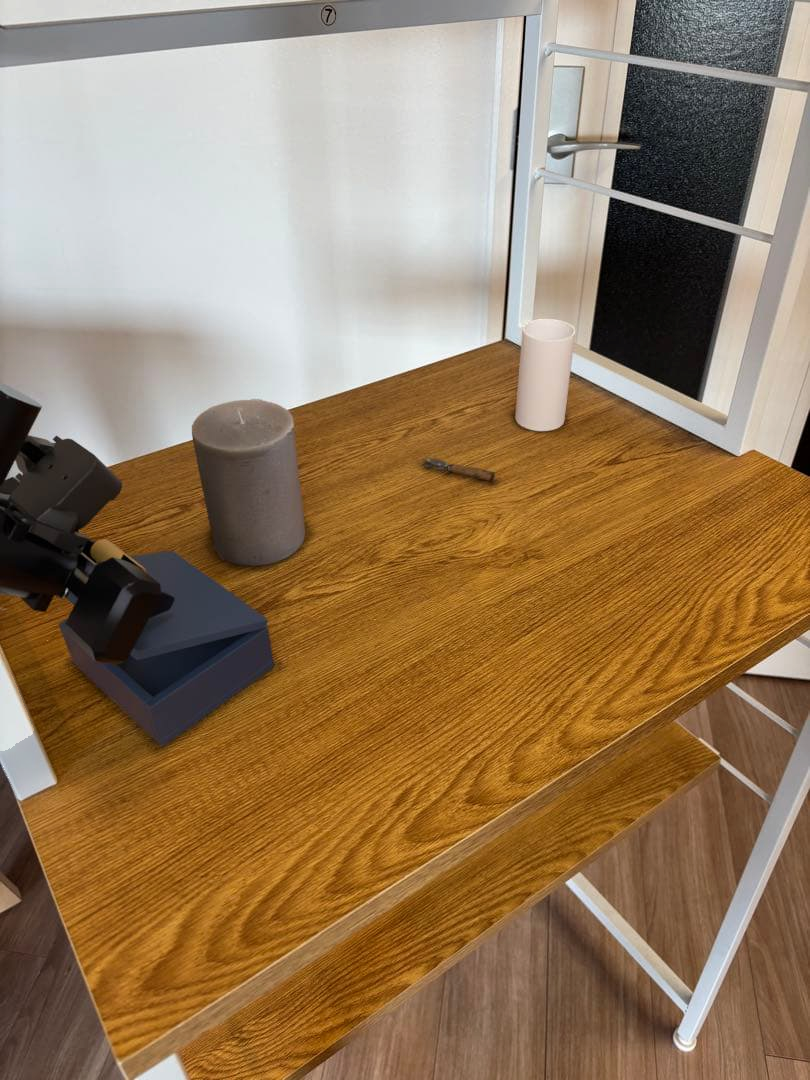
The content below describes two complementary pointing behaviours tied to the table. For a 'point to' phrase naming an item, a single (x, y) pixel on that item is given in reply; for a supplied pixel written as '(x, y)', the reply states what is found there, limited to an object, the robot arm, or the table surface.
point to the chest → (178, 680)
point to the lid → (183, 604)
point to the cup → (544, 374)
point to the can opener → (461, 469)
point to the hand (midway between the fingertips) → (148, 585)
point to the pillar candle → (250, 481)
